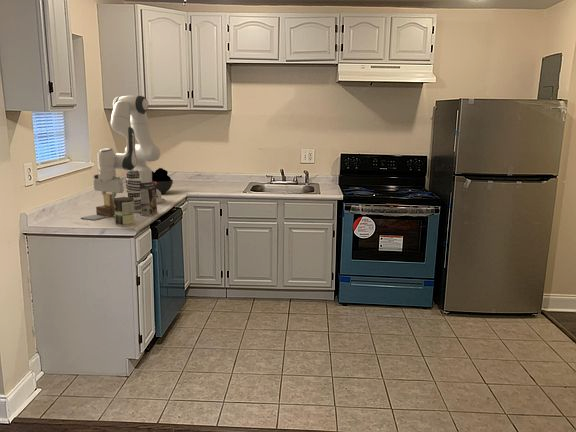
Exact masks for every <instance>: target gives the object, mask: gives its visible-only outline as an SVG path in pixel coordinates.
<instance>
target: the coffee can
mask: <svg viewBox="0 0 576 432" xmlns="http://www.w3.org/2000/svg"><path fill="white" fill-rule="evenodd" d="M114 207H115V216H114V222H115V223H114V225H115V226H119V227H127V226H128V227H129V226H133V225H135V224H136V223H135V212H134V198H131V197H128V196H122V197H121V196H120V197H115V199H114Z"/></svg>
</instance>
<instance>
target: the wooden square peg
mask: <svg viewBox="0 0 576 432" xmlns="http://www.w3.org/2000/svg"><path fill="white" fill-rule="evenodd" d="M112 196H113V194H112V192H106V194H104V196H103V205H104V207H114V200H111V197H112Z"/></svg>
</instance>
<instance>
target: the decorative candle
mask: <svg viewBox="0 0 576 432" xmlns="http://www.w3.org/2000/svg"><path fill="white" fill-rule="evenodd" d="M125 183H126V184H125V186H126V187H125V188H126V193H127V197H131V198H134V213H138V212H141V196H140V192H141V190H140V188H141V187H140V185H141V184H140V183H141V181H140V175H139V172H138V171H137V170H134V169H132V170H127V172H126V179H125Z"/></svg>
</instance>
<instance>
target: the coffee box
mask: <svg viewBox="0 0 576 432" xmlns="http://www.w3.org/2000/svg"><path fill="white" fill-rule="evenodd" d="M140 213H141V216H143V217H144V216H145V217H152V216H153V215H156V214H158V203H157V195H156V187H145V188H142V189H141V211H140Z"/></svg>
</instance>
